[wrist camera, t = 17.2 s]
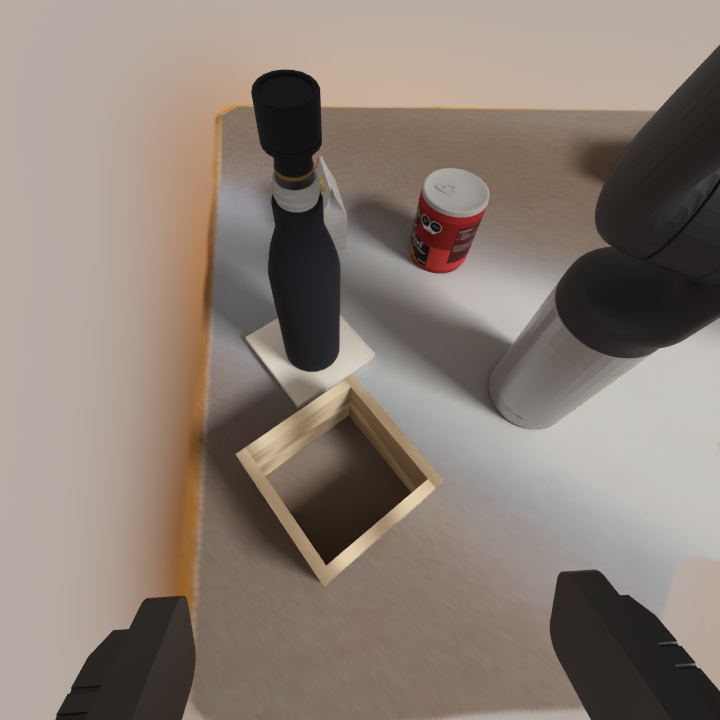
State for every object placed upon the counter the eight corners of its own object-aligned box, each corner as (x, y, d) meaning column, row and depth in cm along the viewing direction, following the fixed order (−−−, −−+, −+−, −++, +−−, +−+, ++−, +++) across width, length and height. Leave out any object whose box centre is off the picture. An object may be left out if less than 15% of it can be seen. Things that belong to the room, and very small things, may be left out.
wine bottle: (274, 348, 50) (203, 85, 24) (313, 316, 52) (289, 43, 26) (311, 383, 48) (281, 140, 22) (350, 348, 51) (366, 90, 24)
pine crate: (350, 403, 48) (352, 373, 41) (426, 497, 44) (444, 480, 37) (251, 474, 44) (235, 454, 37) (325, 585, 40) (323, 586, 33)
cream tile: (320, 297, 55) (320, 292, 54) (374, 357, 51) (374, 353, 51) (246, 341, 52) (245, 337, 51) (298, 409, 48) (298, 406, 47)
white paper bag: (335, 213, 62) (335, 152, 53) (346, 248, 59) (347, 189, 50) (310, 217, 62) (306, 156, 53) (320, 252, 59) (317, 194, 50)
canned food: (409, 230, 61) (422, 164, 52) (464, 235, 61) (488, 170, 52) (407, 272, 58) (422, 209, 48) (465, 277, 58) (492, 216, 48)
